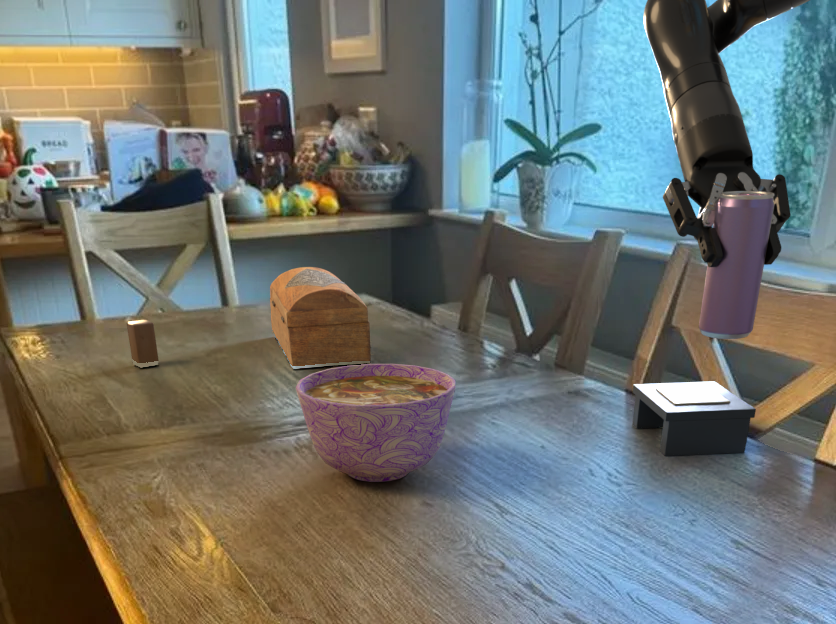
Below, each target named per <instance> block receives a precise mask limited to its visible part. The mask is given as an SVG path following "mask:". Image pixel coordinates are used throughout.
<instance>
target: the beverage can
mask: <svg viewBox="0 0 836 624" xmlns="http://www.w3.org/2000/svg"><path fill="white" fill-rule="evenodd" d="M719 196H720V197H719V200H718V202H717V204H716V209H715V219H714V223H713V225H712V228H716V231H717V234H718V237H719V241H720V245H721V248H722V252H723V257H722V259H721V261H720V262H719V263H718V265H717V266H716V267H708V264H707V265H706V273H705V278H704V286H703V293H702V301H701V306H700V307H701V309H700V314H699V319H698V320H699V321H698V329H699V332H700V334H701V335H703V336H704V337H707V338H711V339H712V338H713V339H718V340H719V339H720V340H740V339H745V338H747V337H748V336H750V334H751V333H752V332H753V331H754V327H755V326H754V325H755V319H756V315H757V308H758V302H759V297H760V291H761V285H762V279H763V274H764V268H765V265H764V262H765V257H766V251H767V245H768V239H769V234H770V228H771V222H772V216H773V210H774V199H773V196H774V193H771V192H762V191H729V192H721V193H720V194H719Z"/></svg>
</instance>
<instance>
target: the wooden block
mask: <svg viewBox="0 0 836 624" xmlns="http://www.w3.org/2000/svg"><path fill="white" fill-rule="evenodd" d="M126 329H127V335H128V342H129V348H130V355H131V360H132V359H133V360H134V361H136V362H137V363H146V362H147V363H148V362H154V361H159V353H158V346H157V339H156V331H155V324H154V322H152V321H149V320H147V319H140V320H132V321H127V322H126ZM159 362H160V361H159Z"/></svg>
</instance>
